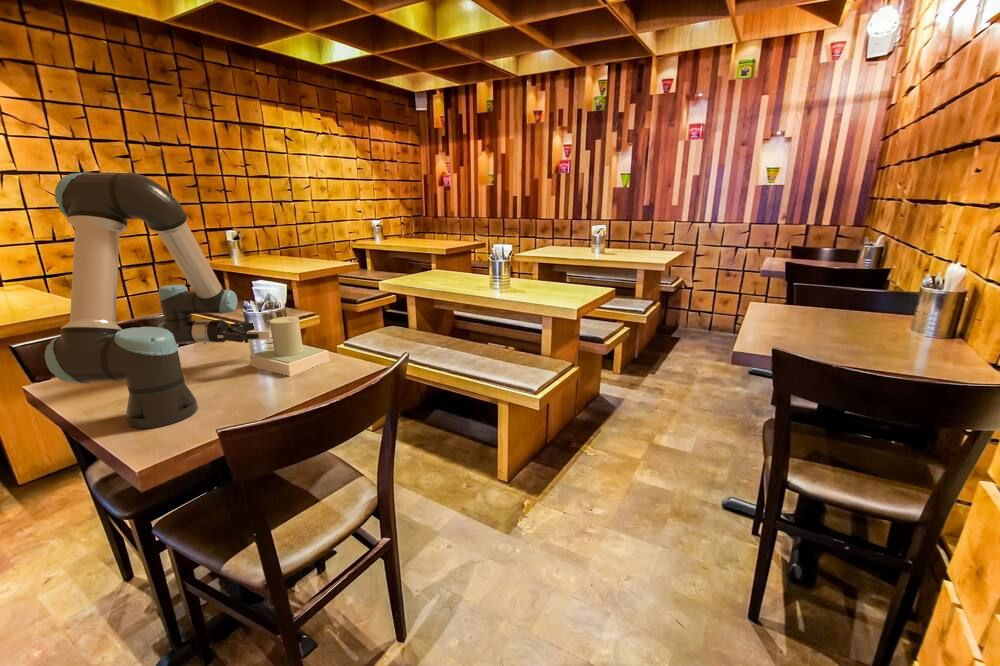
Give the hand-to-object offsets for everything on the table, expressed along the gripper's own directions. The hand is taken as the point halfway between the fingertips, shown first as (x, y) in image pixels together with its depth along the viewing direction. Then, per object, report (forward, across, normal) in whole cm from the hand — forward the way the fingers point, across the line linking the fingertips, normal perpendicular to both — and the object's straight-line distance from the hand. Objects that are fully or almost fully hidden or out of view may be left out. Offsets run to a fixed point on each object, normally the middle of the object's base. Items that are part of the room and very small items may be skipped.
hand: (277, 329), depth 152 cm
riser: (+3, 0, -13) cm, 13 cm away
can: (+3, 0, -8) cm, 9 cm away
